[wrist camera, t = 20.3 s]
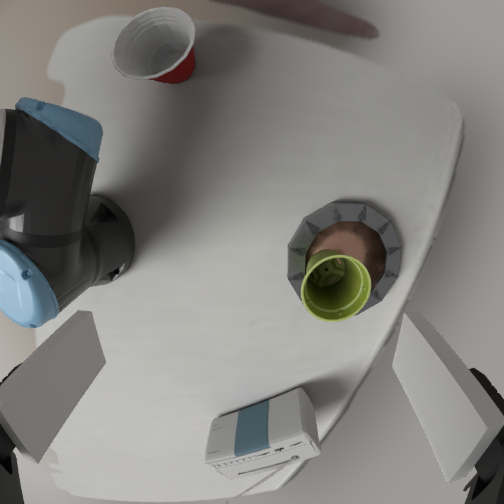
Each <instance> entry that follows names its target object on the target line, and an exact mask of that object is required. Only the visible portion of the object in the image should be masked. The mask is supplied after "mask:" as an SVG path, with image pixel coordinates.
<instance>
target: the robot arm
mask: <svg viewBox="0 0 504 504" xmlns="http://www.w3.org/2000/svg"><path fill="white" fill-rule="evenodd" d="M15 108H16V110H12V109H0V310H1V311H2V312H3V313H4V314H5V315H6V316H7V317H8V318H9V319H11V320H12V321H13V322H15V323H16V324H18V325H20V326H22V327H26V328H37V327H40V326H42V325H43V324H45V323H46V322H47V321H49V320H51V319H54V318H55V317H56V316H57V314H58V313H60V312H61V311H62V310H63V309H64V308H65V307H66V306H68V305H69V304H70V303H71V302H72V301H73V300H75V299H76V298H77V297H78V296H79V295H80V294H82V293H83V292H84V291H85V290H86V289H88V288H89V287H93V286H99V285H105V284H108V283H111V282H113V281H114V280H116V279H117V278H118V277H120V276H121V275H122V274H123V273H124V272H125V271H126V270H127V268H128V267H129V265H130V263H131V261H132V258H133V254H134V235H133V230H132V227H131V224H130V222H129V220H128V218H127V216H126V215H125V213H124V212H123V211H122V210H121V208H120V207H119V206H118V205H116V204H115V203H114V202H112V201H111V200H109V199H107V198H105V197H101V196H90V193H91V188H92V183H93V179H94V174H95V170H96V165H97V163H99V157H98V155H99V150H100V146H101V141H102V137H103V129H102V126H101V124H100V123H99V122H98V121H97V120H95V119H93V118H91V117H89V116H87V115H84V114H81V113H79V112H76V111H73V110H70V109H67V108H64V107H61V106H58V105H54V104H51V103H45V102H42V101H38V100H36V99H31V98H26V97H24V98H21V99H19V101H18V103H17V104H16V105H15ZM105 363H106V360H105V357H104V354H103V351H102V348H101V344H100V341H99V337H98V334H97V330H96V327H95V323H94V319H93V315H92V312H91V311H80V310H78V311H77V312H76V313H75V314H74V315H72V316H71V317H70V318H69V319H68V320H67V321H66V322H65V323H64V324H63V325H62V326H60V327H59V328H58V329H57V330H56V331H55V332H54V333H53V334H52V335H51V336H50V337H49V338H48V339H47V340H46V341H45V342H43V343H42V344H41V345H40V346H39V347H38V348H37V349H36V350H35V351H34V352H33V353H32V354H31V355H30V356H29V357H28V358H27V359H26V360H25V361H24V362H23V363H21V364H19V365H18V366H16V367H15V368H14V369H13V370H12V371H11V372H10V373H9V374H8V376H6V377H5V378H4V379H3V380H2V382H0V504H24V500H23V495H22V490H21V485H20V479H19V473H18V466H17V458H16V455H15V453H14V452H13V450H14V448H15V447H17V449H18V450H19V451H20V453H21V454H22V455H23V456H24V457H25V458H27V459H29V460H32V461H33V462H35V463H37V464H38V463H39V462H40V460H41V459H42V457H43V455H44V453H45V452H46V451H47V449H48V447H49V446H50V444H51V443H52V441H53V440H54V438H55V437H56V435H57V433H58V432H59V430H60V429H61V427H62V426H63V424H64V423H65V421H66V420H67V418H68V417H69V415H70V414H71V412H72V411H73V409H74V408H75V406H76V405H77V403H78V402H79V401H80V399H81V398H82V396H83V395H84V393H85V392H86V390H87V389H88V388H89V386H90V385H91V383H92V382H93V380H94V379H95V378H96V376H97V375H98V373H99V372H100V370H101V369H102V368H103V366H104V365H105ZM392 368H393V370H394V372H395V373H396V375H397V377H398V379H399V381H400V383H401V385H402V387H403V389H404V391H405V393H406V395H407V397H408V399H409V401H410V403H411V405H412V407H413V409H414V411H415V413H416V415H417V417H418V419H419V422H420V423H421V426H422V428H423V430H424V432H425V434H426V436H427V438H428V440H429V443H430V445H431V447H432V449H433V452H434V454H435V456H436V459H437V461H438V463H439V465H440V468H441V470H442V473H443V475H444V477H445V480H446V482H447V484H448V483H451V482H453V481H456V480H458V479H461V478H463V477H466V476H467V474H468V473H469V472H470V471H471V469H472V468H473V467H474V466H475V468H476V470H477V474H476V475H475V476H474V477H473V478H472V480H471V481H470V482H469V483H468V484H467V485H466V486H465V488H464V490H463V491H466V490H467V489H468V488H469V487H470V486H471V487H470V491H469V493H468V497H467V499H466V501H465V504H504V399H503V398H502V396H501V395H500V394H499V393H497V390H496V389H495V387H494V386H492V385H491V382H490V381H489V380H488V379H487V377H486V376H485V375H484V374H482V373H481V372H479V371H478V370H477V369H475V368H471V369H468V368H467V366H466V365H465V364H464V363H463V361H462V360H461V359H460V358H459V356H458V355H457V354H456V353H455V352H454V350H453V349H452V348H451V347H450V345H449V344H448V343H447V342H446V341H445V340H444V338H443V337H442V336H441V335H440V334H439V332H438V331H437V330H436V329H435V328H434V327H433V326H432V324H431V323H430V322H429V321H428V320H427V319H426V318H425V316H424V315H423V314H422V313H421V312H420V311H417V312H405V313H404V316H403V321H402V326H401V330H400V335H399V339H398V343H397V348H396V352H395V356H394V360H393V364H392Z"/></svg>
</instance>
